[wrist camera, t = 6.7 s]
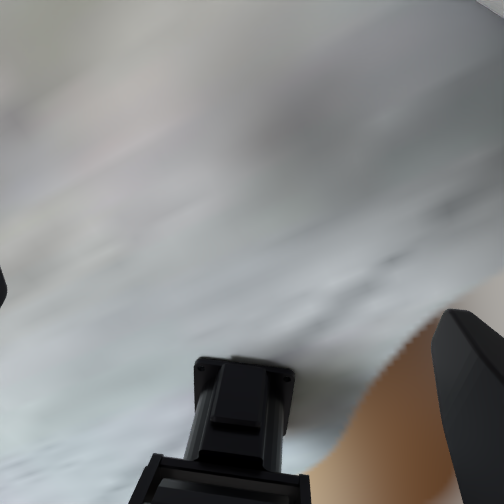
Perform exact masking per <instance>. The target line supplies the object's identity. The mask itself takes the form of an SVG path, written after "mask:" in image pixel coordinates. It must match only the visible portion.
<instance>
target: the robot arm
mask: <svg viewBox="0 0 504 504" xmlns="http://www.w3.org/2000/svg"><path fill="white" fill-rule="evenodd" d="M6 295H7V285H6V282H5V279H4V276H3V273H2V270H1V267H0V308H1V306H2V304H3V302H4V300H5V298H6ZM431 353H432V360H433V365H434V366H433V367H434V373H435V380H436V387H437V394H438V400H439V407H440V413H441V419H442V424H443V428H444V433H445V437H446V440H447V444H448V448H449V452H450V455H451V459H452V463H453V466H454V470H455V474H456V477H457V481H458V485H459V489H460V493H461V496H462V500H463V503H464V504H504V338H503V337H502V336H501V335H499V334H498V333H497V332H496V331H494V330H493V329H492V328H491V327H489V326H488V325H487V324H486V323H484V322H483V321H482V320H481V319H479V318H478V317H477V316H475V315H474V314H473V313H471V312H470V311H467V310H459V309H447V310H446V311H445V312H444V313H443V315H442V317H441V319H440V322H439V324H438V326H437V329H436V331H435V334H434V336H433V338H432V342H431ZM202 366H203V367H202ZM286 376H287V377H286ZM294 382H295V373H294V372H293V371H292V370H290V369H284V368H276V367H268V366H260V365H252V364H243V363H235V362H227V361H219V360H211V359H197V360H196V362H195V365H194V397H195V416H194V420H193V424H192V428H191V432H190V435H189V439H188V443H187V447H186V451H185V455H184V458H183V459H179V458H172V457H165V456H164V455H163V454H157V453H153V455H152V458H151V460H150V462H149V464H148V466H146V467H145V468H144V471H143V473H142V475H141V477H140V479H139V481H138V483H137V486H136V488H135V490H134V492H133V494H132V496H131V499H130V501H129V503H128V504H311V492H310V480H309V475H304V474H299V476H298V475H291V474H284V473H281V464H282V443H283V436H284V435H285V434H286V430H287V424H288V418H289V412H290V406H291V400H292V394H293V388H294Z"/></svg>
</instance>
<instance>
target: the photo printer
mask: <svg viewBox="0 0 504 504" xmlns="http://www.w3.org/2000/svg"><path fill="white" fill-rule="evenodd" d="M476 1H477V2H479V3H480V4H482V5H483V6H485V7H486V8H488V9H490V10H491V11H493V12H494V13H496V14H497V15H499V16H501V17H502V18H504V0H476Z"/></svg>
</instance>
